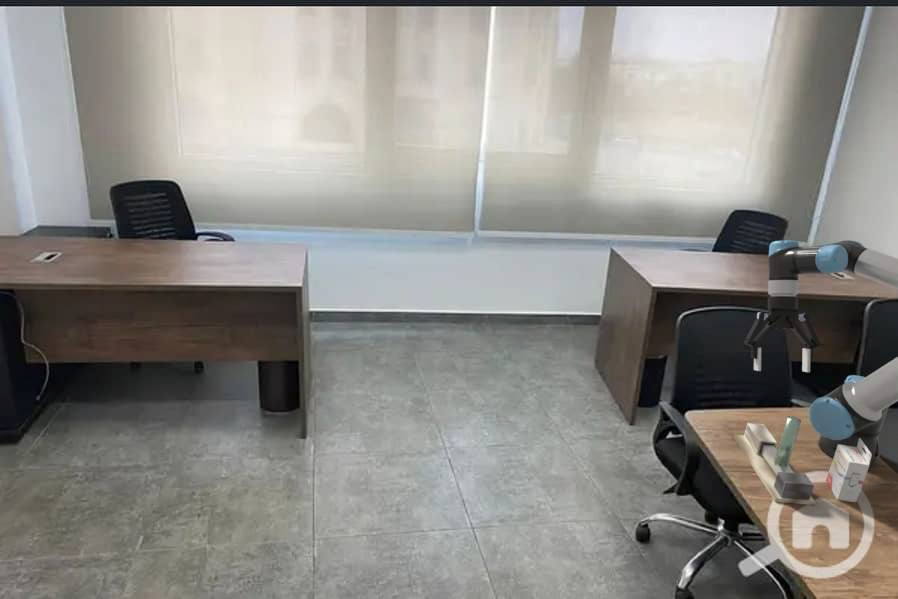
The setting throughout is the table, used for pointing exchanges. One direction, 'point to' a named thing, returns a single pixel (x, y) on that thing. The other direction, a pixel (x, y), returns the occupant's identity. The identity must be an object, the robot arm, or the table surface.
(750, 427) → the tube rig
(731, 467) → the table surface
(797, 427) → the tube
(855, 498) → the ink cartridge box
